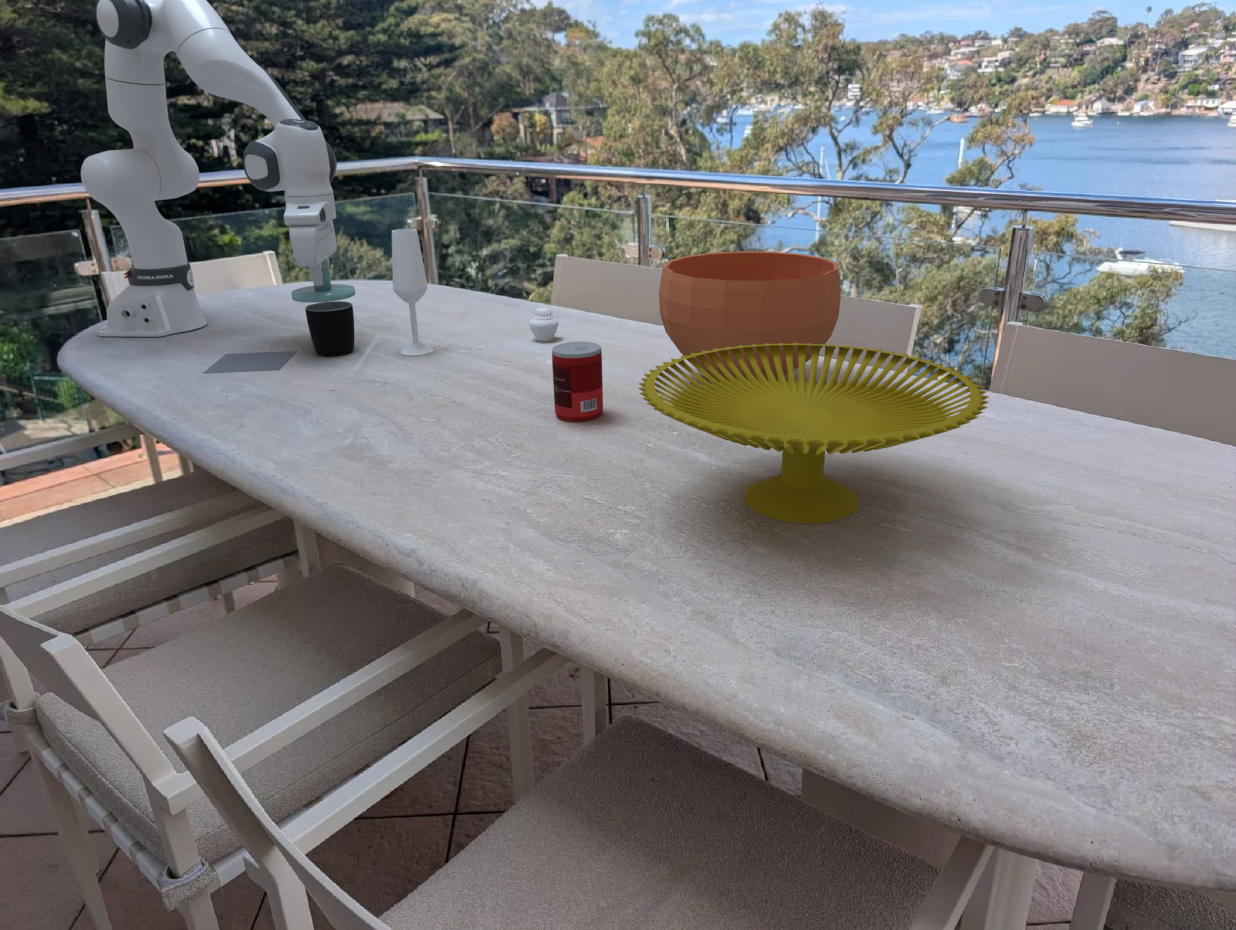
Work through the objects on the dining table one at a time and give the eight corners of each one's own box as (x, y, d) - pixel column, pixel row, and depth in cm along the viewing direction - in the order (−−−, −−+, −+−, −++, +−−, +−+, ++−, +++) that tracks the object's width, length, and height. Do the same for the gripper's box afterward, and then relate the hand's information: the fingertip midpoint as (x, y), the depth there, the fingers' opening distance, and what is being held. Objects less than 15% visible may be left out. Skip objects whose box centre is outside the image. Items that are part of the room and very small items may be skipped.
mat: (203, 377, 171) (202, 373, 170) (226, 357, 184) (226, 353, 183) (279, 373, 172) (279, 369, 171) (297, 354, 185) (297, 350, 184)
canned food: (610, 408, 148) (608, 342, 144) (592, 424, 141) (590, 355, 137) (566, 404, 151) (563, 339, 147) (547, 420, 144) (543, 352, 140)
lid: (285, 303, 174) (281, 276, 172) (299, 291, 185) (295, 265, 183) (349, 300, 175) (346, 273, 173) (360, 289, 186) (356, 263, 184)
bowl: (835, 413, 144) (844, 283, 136) (647, 405, 149) (646, 280, 142) (832, 362, 171) (840, 251, 163) (674, 357, 177) (674, 250, 169)
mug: (367, 355, 183) (361, 305, 179) (327, 364, 177) (319, 313, 174) (336, 345, 191) (329, 297, 187) (296, 354, 185) (289, 304, 181)
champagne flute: (437, 346, 188) (426, 227, 179) (428, 355, 182) (415, 232, 173) (406, 346, 189) (393, 228, 180) (395, 355, 183) (381, 232, 174)
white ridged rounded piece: (557, 343, 189) (556, 309, 186) (528, 343, 189) (526, 310, 186) (560, 336, 195) (559, 303, 192) (531, 336, 195) (530, 303, 192)
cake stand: (627, 449, 131) (625, 347, 126) (901, 436, 133) (911, 336, 128) (657, 587, 94) (657, 452, 88) (1038, 567, 96) (1061, 433, 90)
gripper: (307, 205, 183) (317, 274, 188) (280, 217, 164) (292, 293, 169) (339, 204, 183) (348, 273, 189) (316, 215, 165) (327, 292, 170)
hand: (321, 283), depth 179 cm, fingers closed on lid, 3 cm apart
